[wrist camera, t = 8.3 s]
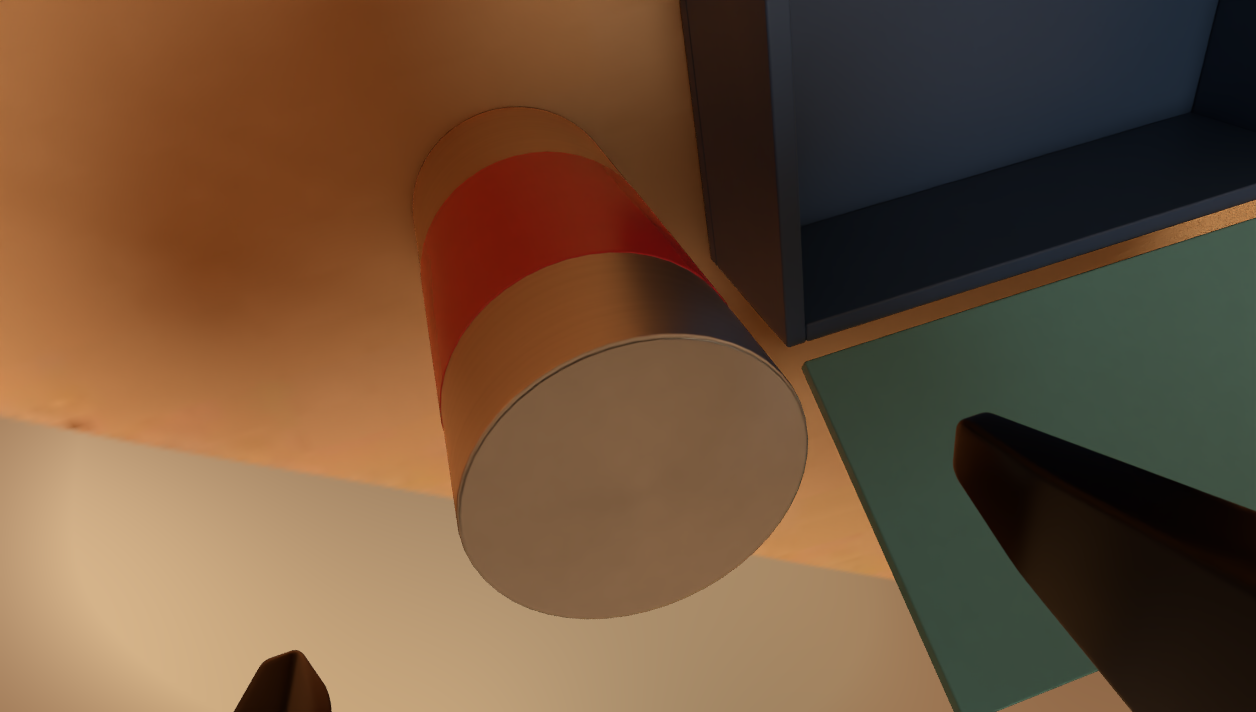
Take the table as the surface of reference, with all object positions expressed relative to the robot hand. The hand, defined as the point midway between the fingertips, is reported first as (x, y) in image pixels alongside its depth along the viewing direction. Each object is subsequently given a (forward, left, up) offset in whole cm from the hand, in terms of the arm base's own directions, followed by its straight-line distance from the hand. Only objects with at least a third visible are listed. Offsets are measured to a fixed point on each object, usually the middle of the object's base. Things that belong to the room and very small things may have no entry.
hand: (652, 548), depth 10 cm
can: (0, 0, -12) cm, 12 cm away
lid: (-5, -13, -3) cm, 14 cm away
